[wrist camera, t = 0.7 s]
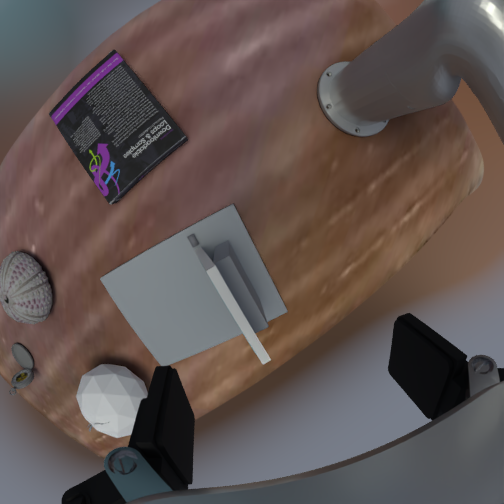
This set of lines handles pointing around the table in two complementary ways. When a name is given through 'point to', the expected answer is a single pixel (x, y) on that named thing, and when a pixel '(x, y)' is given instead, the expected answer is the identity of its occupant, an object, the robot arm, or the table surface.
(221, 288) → the tile
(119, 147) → the box
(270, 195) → the table surface
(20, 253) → the sea urchin shell
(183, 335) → the board
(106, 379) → the geodesic sphere
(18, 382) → the pocket watch
